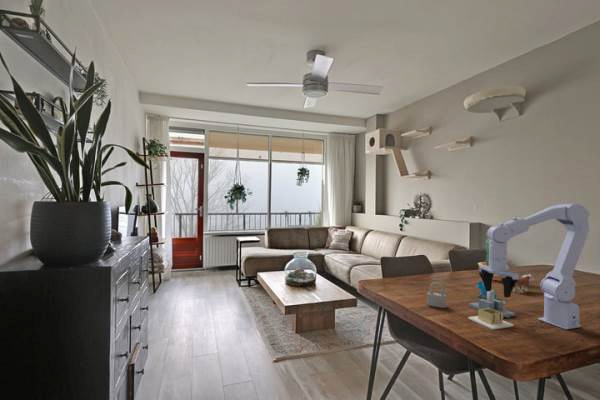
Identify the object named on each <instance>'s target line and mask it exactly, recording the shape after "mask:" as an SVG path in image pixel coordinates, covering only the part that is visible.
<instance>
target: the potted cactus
mask: <svg viewBox="0 0 600 400" xmlns="http://www.w3.org/2000/svg"><path fill="white" fill-rule="evenodd" d="M485 251H486V259H485V261H483V262H482V261H481V262H477V264H478V267H479V266H487V267H489V239H488V238H487V239H486V241H485ZM509 268H510V266H509V265H507V270H508V271H509ZM502 278H504V276H500V275H496V274H494V275H493V278H492V281H495V280H497V282H498V281H499V282H500V281H502Z"/></svg>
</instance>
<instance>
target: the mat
mask: <svg viewBox="0 0 600 400" xmlns="http://www.w3.org/2000/svg"><path fill="white" fill-rule="evenodd" d="M468 320H470V321H472V322H475V323H476V324H479V325H481V326H484V327H486V328H488V329H490V330H491V331H492V330H497V329H498V330H499V329H505V328H511V327H514V324H513V323H511V322H508V321H505V320H503V323H499V324H492V325H491V324H489V323H487V322H484V321H482V320H480V319H478V315H475V316H468Z"/></svg>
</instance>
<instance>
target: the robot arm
mask: <svg viewBox="0 0 600 400" xmlns="http://www.w3.org/2000/svg"><path fill="white" fill-rule="evenodd" d="M589 217H590V211H588V209H587V208H586V207H585V206H584V205H583V204H580V203H569V204H568V203H557V204H554V205H551V206H548V207H546V208H544V209H542V210H540V211H538V212H535V213H534V214H532V215H529V216H527V217H525V218H523V217H511V220H508V221H506V222H504V223H503V222H500V223H499V224H498V226H496V225H494V226H491V227H489V229H487V232H486V233H485V234H486V237H487V239H489V267H487V266H479V265H478V271H479V272H478V274H479V276H480V278H481V281H482V282H483V283H484V286H485V290H486V291H491V289H493V288H492V285H493V284H492V282H493V280H492V278H493V275H494V274H496V275H500V276H503V277H502V280H501V281H502V285H503V295H504V296H503V297H504V298H510V297H511V295H512V291H513V287H514V285H515V284H516V283H517V281H518V279H519V277H520V276H519V273H517V272H513V271H510V270H509V269H508V270H507V266H508V242H509V241H510V240H511V238H514V237H516V236H518V235H522V234H524V233H526V232H528V231H529V229H530V227H532V226H535V225H538V224H540V223H543V222H546V221H549V220H556V221H557V222H559V223H560V224H561V225H563V227H565V229H566V230H567V232H566V235H565V237H564V239H563V240H564V241H563V242H562V245H561V248H560V251H559V253H558V256H557V258H556V261H555V263H554V267H553V269H552V270H551V271H549V272H547V273H546V275H545V277H544V278H543V279H542V280H541V281H540V284H539V285H540V286H539V287H540V289H541V291H542V292H543V296H544V297H543V298H544V300H543V301H544V302H543V308H544V309H543V317H538V318H537V320H538V321H542V322H544V323H547V324H549V325H553V326H556V327H558V328H561V329H564V330H570V329H571V330H572V329H576V328H582V327H581V324H580V306H579V304H577V303H575V302H572V301H571V300H573V299H574V297H575V296H576V285H577V283H576V281H575V279H574V278H573V275H574V273H575V269H576V266H577V264H578V261H579V259H580V256H581V253H582V250H583V248H584V246H585V243H586V240H587V237H588V236H589V232H590V226H589ZM483 283H482V284H483Z"/></svg>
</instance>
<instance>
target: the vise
mask: <svg viewBox="0 0 600 400" xmlns="http://www.w3.org/2000/svg"><path fill="white" fill-rule="evenodd" d="M494 293H495V291H493V290H491V291H487V297H486V299H484V298H480V299H478V301H477V302H468V307H470V308H473V309H475V310H477V311H478V309H485V308H491V309H493V310H496V311H499V312H501V313H503V319H505V318H504V317H506V318H512V317H511V316H513V317H515V316H516V313H515V312H512V311H510V310H507V309H505V308H504V305H506V301H502V300H498V299H497V300H496V299H494Z"/></svg>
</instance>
